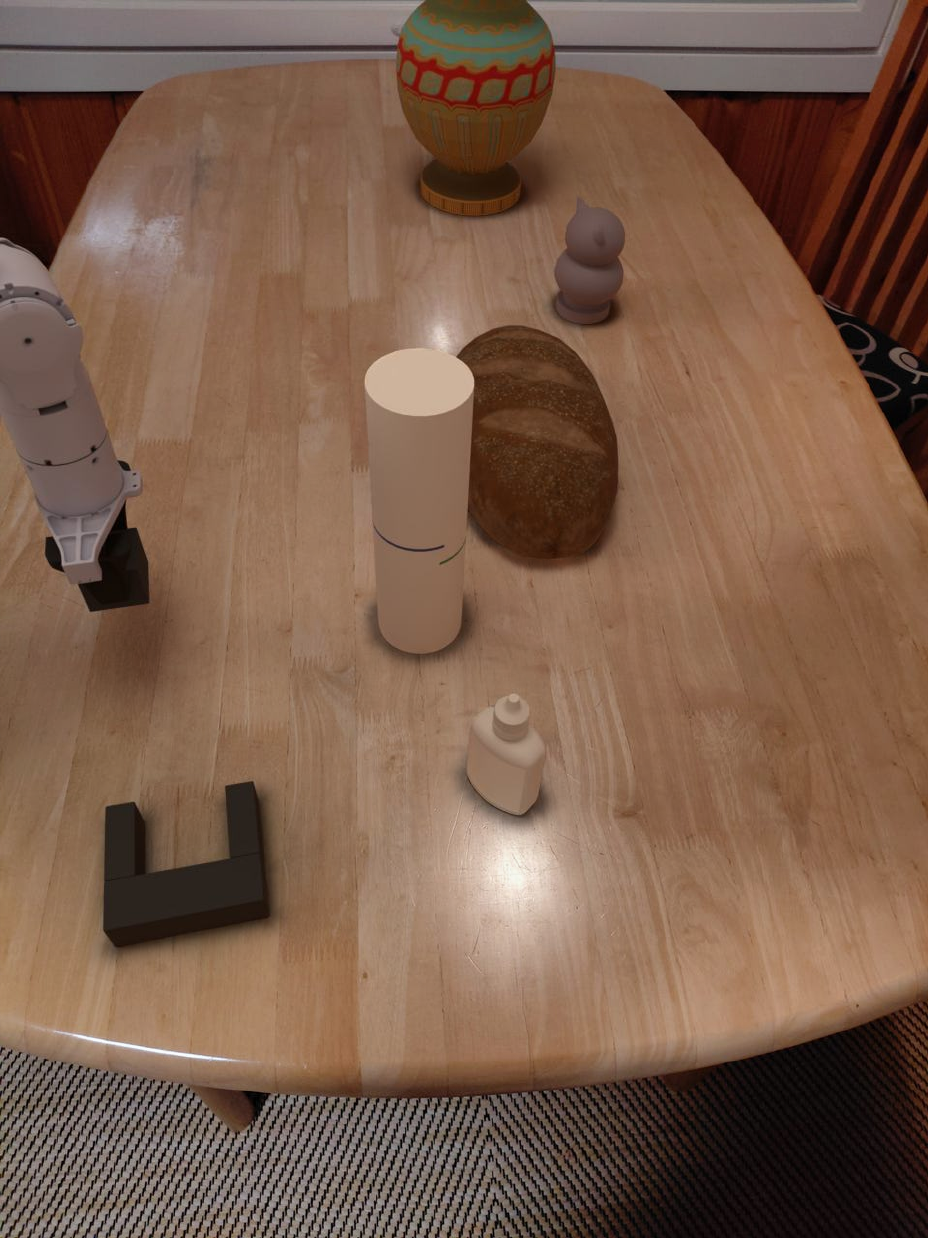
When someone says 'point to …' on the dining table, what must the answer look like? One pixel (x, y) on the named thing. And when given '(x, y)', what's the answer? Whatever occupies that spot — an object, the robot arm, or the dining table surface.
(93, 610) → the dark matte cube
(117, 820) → the black u-shaped block
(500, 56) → the vase
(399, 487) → the cylindrical container
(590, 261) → the grey rounded figurine
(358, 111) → the dining table surface
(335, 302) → the dining table surface
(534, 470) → the bread
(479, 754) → the eye dropper bottle
